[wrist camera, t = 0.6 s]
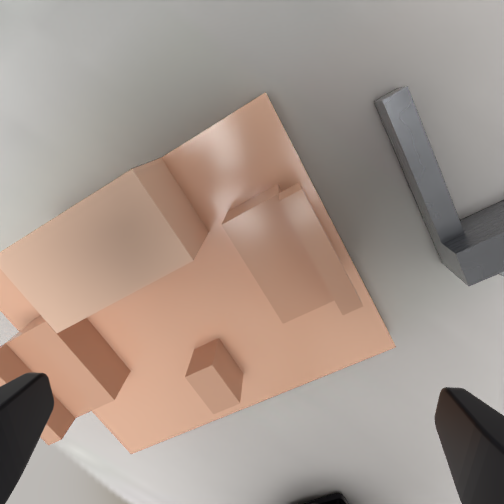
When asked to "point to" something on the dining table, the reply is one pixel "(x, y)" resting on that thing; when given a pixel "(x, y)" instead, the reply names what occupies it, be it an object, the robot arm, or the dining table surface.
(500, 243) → the glasses frame
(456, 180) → the dining table surface
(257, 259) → the display stand
